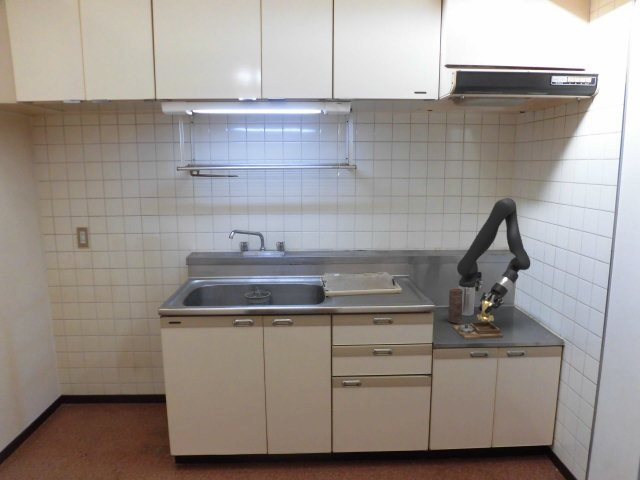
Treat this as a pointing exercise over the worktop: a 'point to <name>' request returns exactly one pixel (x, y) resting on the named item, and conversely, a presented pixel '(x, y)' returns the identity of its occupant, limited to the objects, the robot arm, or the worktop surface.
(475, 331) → the gear board
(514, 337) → the worktop surface
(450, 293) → the candle
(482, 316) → the gear shaft
